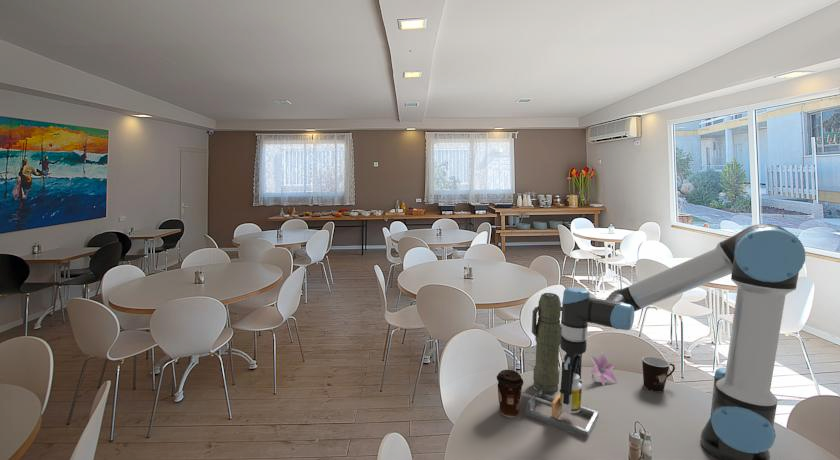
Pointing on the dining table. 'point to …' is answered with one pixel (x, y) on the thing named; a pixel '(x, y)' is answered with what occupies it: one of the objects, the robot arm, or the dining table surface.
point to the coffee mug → (655, 372)
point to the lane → (557, 422)
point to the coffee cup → (509, 392)
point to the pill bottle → (575, 394)
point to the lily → (603, 369)
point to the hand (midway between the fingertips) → (569, 407)
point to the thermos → (547, 342)
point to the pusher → (555, 404)
